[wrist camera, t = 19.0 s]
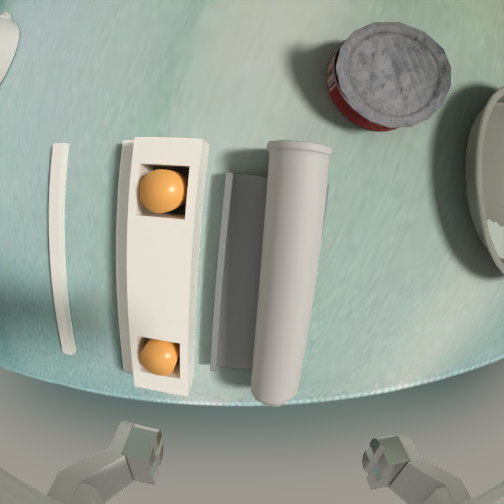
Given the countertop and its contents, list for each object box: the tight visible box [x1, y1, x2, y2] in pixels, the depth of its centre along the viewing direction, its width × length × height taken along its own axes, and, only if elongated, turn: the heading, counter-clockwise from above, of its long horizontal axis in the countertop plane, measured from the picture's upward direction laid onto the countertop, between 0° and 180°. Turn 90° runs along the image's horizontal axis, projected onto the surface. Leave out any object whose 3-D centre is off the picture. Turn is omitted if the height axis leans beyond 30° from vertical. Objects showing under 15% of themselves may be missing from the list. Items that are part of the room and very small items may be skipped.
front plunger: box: [139, 169, 188, 213], centre depth 25 cm, size 4×4×4 cm
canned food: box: [326, 22, 451, 131], centre depth 21 cm, size 11×10×10 cm
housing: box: [49, 137, 209, 396], centre depth 27 cm, size 17×25×4 cm
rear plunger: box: [140, 338, 180, 376], centre depth 28 cm, size 4×4×4 cm
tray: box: [210, 172, 329, 371], centre depth 28 cm, size 9×20×2 cm, turn 174°
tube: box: [251, 140, 333, 407], centre depth 26 cm, size 5×5×25 cm
